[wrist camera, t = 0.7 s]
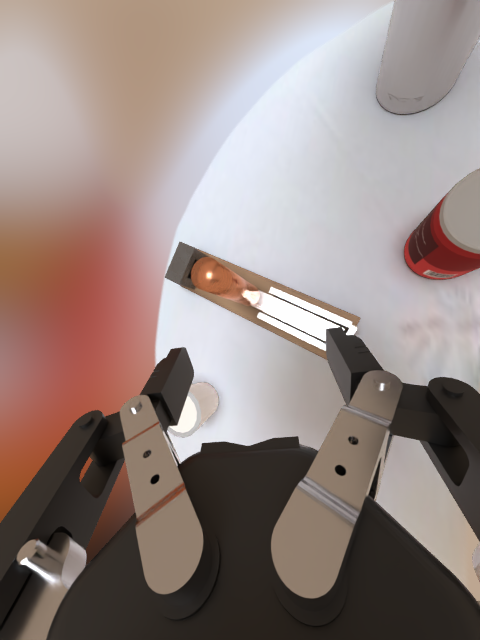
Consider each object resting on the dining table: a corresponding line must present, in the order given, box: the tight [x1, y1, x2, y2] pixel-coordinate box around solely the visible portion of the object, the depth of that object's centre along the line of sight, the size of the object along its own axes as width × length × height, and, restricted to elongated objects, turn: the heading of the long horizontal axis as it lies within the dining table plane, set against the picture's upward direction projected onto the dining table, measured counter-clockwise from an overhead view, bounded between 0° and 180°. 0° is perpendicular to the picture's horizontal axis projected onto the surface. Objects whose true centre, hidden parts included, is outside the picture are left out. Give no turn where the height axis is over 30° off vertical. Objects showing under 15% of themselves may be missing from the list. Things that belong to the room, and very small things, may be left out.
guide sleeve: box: [257, 287, 357, 351], centre depth 31 cm, size 5×12×3 cm, turn 64°
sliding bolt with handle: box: [191, 257, 344, 341], centre depth 27 cm, size 3×18×16 cm, turn 64°
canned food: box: [404, 168, 480, 279], centre depth 24 cm, size 8×8×11 cm
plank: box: [180, 249, 360, 359], centre depth 36 cm, size 7×28×1 cm, turn 64°
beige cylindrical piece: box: [168, 382, 219, 438], centre depth 36 cm, size 7×7×7 cm
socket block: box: [165, 242, 208, 290], centre depth 37 cm, size 6×3×4 cm, turn 154°
